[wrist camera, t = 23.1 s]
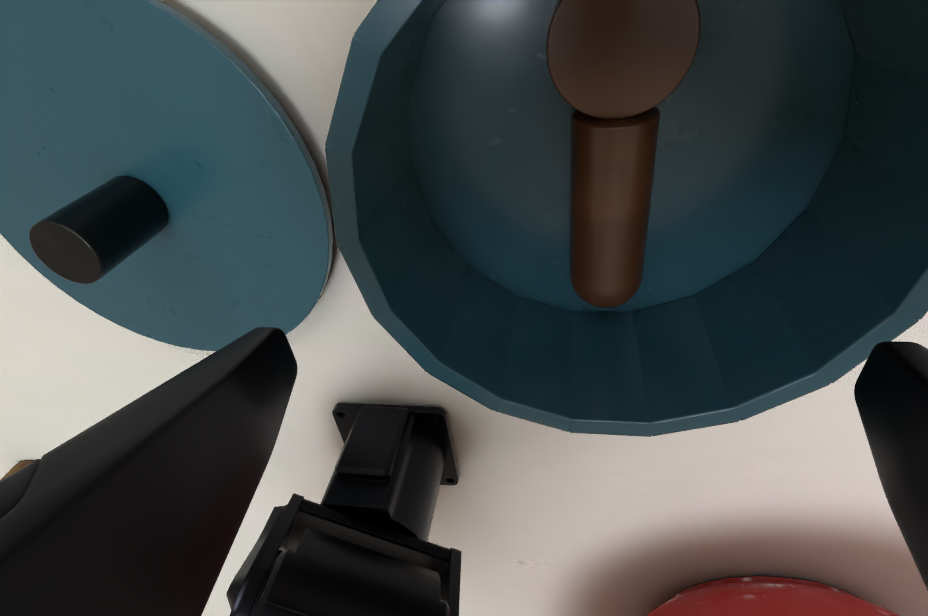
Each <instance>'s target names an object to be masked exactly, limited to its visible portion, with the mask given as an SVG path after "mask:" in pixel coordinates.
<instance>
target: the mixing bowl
mask: <svg viewBox="0 0 928 616" xmlns="http://www.w3.org/2000/svg"><path fill="white" fill-rule="evenodd" d="M646 616H898V615H896V614H895V613H893V612H891V611H889V610H886V609H884V608H882V607H880V606H877V605H875V604H872V603H870V602H868V601H865V600H863V599H860V598H857V597H855V596H853V595H851V594H849V593H847V592H844V591H842V590H839V589H837V588H834V587H830V586H827V585H824V584H821V583H816V582H811V581H806V580H800V579H794V578H792V579H791V578H782V577H759V576H755V577H737V578H725V579H721V580H716V581H711V582H706V583H702V584H698V585H695V586H693V587H690V588H688V589H685V590H683V591H681V592H679V593H678V594H676V595H675V596H673V597H672V598H671V599H669V600H668V601H667V602H665V603H663V604H662V605H660V606H659V607H657V608H656V609H654V610H653V611H651V612H650V613H649V614H648V615H646Z"/></svg>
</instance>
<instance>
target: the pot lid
mask: <svg viewBox="0 0 928 616" xmlns="http://www.w3.org/2000/svg"><path fill="white" fill-rule="evenodd" d="M0 234H1V235H2V236H3V237H4V238H5V239H6V240H7V241H8V242H9V243H10V244H11V245H12V247H13V248H14V249H15V250H16V251H17V252H18V253H19V254H20V255H21V256H22V257H23V258H24V259H25V260H27V261H28V262H29V263H30V264H31V265H32V266H33V267H34V268H35V269H36V270H37V271H38V272H40V273H41V274H42V275H43V276H45V277H46V278H47V279H48V280H49V281H51V282H52V283H53V284H54V285H55V286H57V287H58V288H59V289H61V290H62V291H64V292H65V293H66V294H68V295H69V296H71V297H72V298H73V299H75V300H76V301H78V302H79V303H81V304H82V305H84V306H86V307H87V308H89V309H91V310H92V311H94V312H95V313H97V314H99V315H101V316H103V317H104V318H106V319H108V320H110V321H112V322H114V323H116V324H118V325H120V326H122V327H124V328H127V329H129V330H131V331H133V332H136V333H138V334H140V335H143V336H146V337H149V338H152V339H155V340H157V341H161V342H164V343H168V344H172V345H176V346H179V347H185V348H191V349H197V350H208V351H218V350H220V349H221V348H223V347H225V346H226V345H228V344H230V343H231V342H233V341H235V340H236V339H238V338H240V337H241V336H243V335H245V334H246V333H248V332H250V331H251V330H253V329H255V328H258V327H277V328H280V329H282V330H283V331H284V333H285V335H286V334H287V333H289V332H290V331H291V330H293V329H294V328H295V327H297V326H298V325H299V324H300V323H301V322H302V321H303V320H304V319H305V318H306V317H307V316H308V315H309V313H310V312H311V310H312V308H313V307H314V305H315V304H316V302H317V301H318V299H319V298H320V296H321V294H322V292H323V289H324V287H325V284H326V282H327V280H328V276H329V271H330V266H331V262H332V248H333V234H332V224H331V215H330V211H329V206H328V202H327V198H326V193H325V190H324V187H323V184H322V182H321V179H320V176H319V173H318V171H317V168H316V165H315V163H314V161H313V159H312V157H311V155H310V153H309V151H308V149H307V147H306V145H305V143H304V141H303V139H302V137H301V136H300V134H299V132H298V131H297V129H296V128H295V126H294V125H293V123H292V121H291V120H290V118H289V117H288V115H287V114H286V112H285V110H284V109H283V108H282V107H281V105H280V104H279V103H278V101H277V100H276V99H275V98H274V96H273V95H272V94H271V93H270V91H269V90H268V89H267V87H266V86H265V85H264V84H263V83H262V81H261V80H260V79H259V78H258V77H257V76H256V75H255V74H254V73H253V72H252V71H251V70H250V69H249V68H248V67H247V66H246V65H245V64H244V63H243V62H242V60H241V59H240V58H239V57H237V56H236V55H235V54H234V53H233V52H232V51H231V50H229V49H228V48H227V47H226V46H225V45H224V44H222V43H221V42H220V41H219V40H218V39H217V38H216V37H214V36H213V35H212V34H211V33H209V32H208V31H207V30H205V29H204V28H202V27H201V26H200V25H198V24H197V23H195V22H194V21H192V20H191V19H190V18H188V17H187V16H185V15H184V14H182V13H181V12H179V11H178V10H176V9H174V8H172V7H170V6H169V5H167V4H165V3H163V2H161V1H160V0H0Z"/></svg>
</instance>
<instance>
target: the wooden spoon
mask: <svg viewBox="0 0 928 616" xmlns="http://www.w3.org/2000/svg"><path fill="white" fill-rule="evenodd" d="M700 29H701V21H700V11H699V6H698V2H697V0H556V3H555V5H554V8H553V11H552V14H551V18H550V23H549V29H548V35H547V43H546V56H547V64H548V69H549V73H550V76H551V79H552V81H553V83H554V85H555V87H556V89H557V90H558V92H559V93H560V95H561V96H562V97H563V98H564V99H565V100H566V101H567V103H569V104H570V105H571V106H572V107H574V108H575V109H577V110H576V111H575V112H574V113H573V114H572V116H571V189H570V280H571V284H572V286H573V289H574V291H575V292H576V294H577V295H578V296H579V297H580V298H581V299H582V300H583V301H585V302H586V303H588V304H590V305H592V306H595V307H599V308H612V307H616V306H619V305H622V304H624V303H625V302H627V301H628V300H630V299H631V298H632V297H633V296H634V295H635V293H636V292H637V291H638V289H639V287H640V284H641V281H642V276H643V267H644V258H645V249H646V239H647V230H648V221H649V212H650V203H651V193H652V184H653V175H654V166H655V157H656V147H657V138H658V129H659V120H660V112H659V110H658V109H657V108H656V107H655V106H656V105H657V104H659V103H660V102H662V101H663V100H664V99H665V98H667V97H668V96H669V95H670V94H671V93H672V92H673V91H674V90H675V89H676V88H677V86H678V85H679V84H680V82H681V81H682V80H683V79H684V77H685V75H686V74H687V72H688V70H689V69H690V66H691V64H692V62H693V60H694V57H695V54H696V51H697V48H698V44H699V39H700Z"/></svg>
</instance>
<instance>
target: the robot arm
mask: <svg viewBox="0 0 928 616" xmlns="http://www.w3.org/2000/svg"><path fill="white" fill-rule="evenodd" d="M296 376H297V362H296V359H295V357H294V355H293V352H292V350H291V347H290V345H289V342H288V340H287V337H286V335H285V333H284V331H283V330H282V329H280V328H277V327H258V328H255V329H253V330H251V331H250V332H248V333H246V334H245V335H243V336H241V337H240V338H238V339H236V340H235V341H233V342H231V343H230V344H228V345H226V346H225V347H223V348H221V349H220V350H218V351H216V352H215V353H213V354H211V355H210V356H208V357H206V358H205V359H203V360H201V361H200V362H198V363H196V364H195V365H193V366H191V367H190V368H188V369H186V370H185V371H183V372H181V373H180V374H178V375H176V376H175V377H173V378H171V379H170V380H168V381H166V382H165V383H163V384H161V385H160V386H158V387H156V388H155V389H153V390H151V391H150V392H148V393H146V394H145V395H143V396H141V397H140V398H138V399H136V400H135V401H133V402H131V403H130V404H128V405H126V406H125V407H123V408H121V409H120V410H118V411H116V412H115V413H113V414H111V415H110V416H108V417H106V418H105V419H103V420H101V421H100V422H98V423H96V424H95V425H93V426H91V427H90V428H88V429H86V430H85V431H83V432H81V433H80V434H78V435H76V436H75V437H73V438H71V439H70V440H68V441H66V442H65V443H63V444H61V445H60V446H58V447H56V448H55V449H53V450H51V451H50V452H48V453H46V454H45V455H43V457H42V458H41V459H37V460H35V461H33V462H31V463H30V464H28V465H26V466H25V467H23V468H21V469H20V470H18V471H16V472H15V473H13V474H11V475H10V476H8V477H6V478H5V479H3V480H1V481H0V616H201V615H202V613H203V610H204V608H205V606H206V603H207V601H208V599H209V597H210V594H211V592H212V590H213V587H214V585H215V583H216V581H217V578H218V576H219V574H220V571H221V569H222V567H223V565H224V562H225V560H226V558H227V555H228V553H229V551H230V549H231V546H232V544H233V542H234V539H235V537H236V535H237V532H238V530H239V528H240V526H241V523H242V521H243V519H244V516H245V514H246V512H247V510H248V507H249V505H250V503H251V500H252V498H253V496H254V494H255V491H256V489H257V487H258V484H259V482H260V480H261V478H262V475H263V473H264V471H265V468H266V466H267V464H268V461H269V459H270V456H271V454H272V451H273V448H274V445H275V443H276V440H277V437H278V433H279V430H280V427H281V424H282V421H283V418H284V414H285V411H286V408H287V405H288V402H289V399H290V395H291V392H292V389H293V386H294V383H295V379H296ZM854 394H855V400H856V404H857V407H858V410H859V413H860V417H861V420H862V423H863V426H864V429H865V433H866V436H867V439H868V442H869V445H870V449H871V452H872V455H873V458H874V461H875V465H876V468H877V471H878V474H879V477H880V480H881V483H882V486H883V489H884V492H885V495H886V498H887V500H888V503H889V505H890V507H891V510H892V512H893V514H894V517H895V519H896V521H897V523H898V526H899V528H900V530H901V532H902V535H903V537H904V539H905V541H906V544H907V546H908V548H909V550H910V552H911V555H912V557H913V559H914V561H915V564H916V566H917V568H918V570H919V572H920V575H921V577H922V579H923V581H924V584H925V586H926V588H927V590H928V349H927V348H925V347H923V346H921V345H919V344H917V343H913V342H890V341H885V342H880V343H878V344H877V345H876V346H874V348H873V349H872V351H871V353H870V355H869V357H868V359H867V361H866V363H865V365H864V367H863V369H862V371H861V373H860V375H859V377H858V379H857V381H856V384H855V390H854ZM332 413H333V417H334V419H335V422H336V424H337V427H338V429H339V432H340V434H341V437H342V439H343V442H344V447H343V449H342V452H341V454H340V456H339V459H338V461H337V464H336V466H335V470H334V473H333V475H332V477H331V480H330V482H329V485H328V487H327V489H326V492H325V494H324V497H323V499H322V501H321V504H317V503H314V502H311V501H308V500H306V499H304V497H303V496H300V495H297V494H293V495H292V497H291V499H290V501H289V503H288V505H286V506H279V507H274V509H273V511H272V513H271V515H270V517H269V519H268V521H267V523H266V525H265V527H264V529H263V531H262V533H261V535H260V537H259V539H258V541H257V542H256V544H255V546H254V547H253V549H252V551H251V552H250V554H249V555H248V557H247V558H246V560H245V562H244V563H243V565H242V566H241V568H240V570H239V571H238V573H237V574H236V576H235V578H234V579H233V581H232V583H231V585H230V587H229V589H228V591H227V598H228V601H229V604H230V608H231V614H230V616H459V596H460V572H461V551H459V550H457V549H454V548H450V549H448V548H445V547H442V546H439V545H436V544H433V543H430V542H427V540H428V536H429V531H430V527H431V522H432V518H433V513H434V509H435V504H436V500H437V495H438V491H439V486H440V485H456V484H457V483H458V481H459V471H458V466H457V461H456V456H455V451H454V446H453V441H452V436H451V431H450V426H449V421H448V416H447V412H446V411H445V410H444V409H442V408H439V407H422V406H398V405H374V404H350V403H338V404H336V405H335V407H334V410H333V412H332ZM438 416H439V417H438Z"/></svg>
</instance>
